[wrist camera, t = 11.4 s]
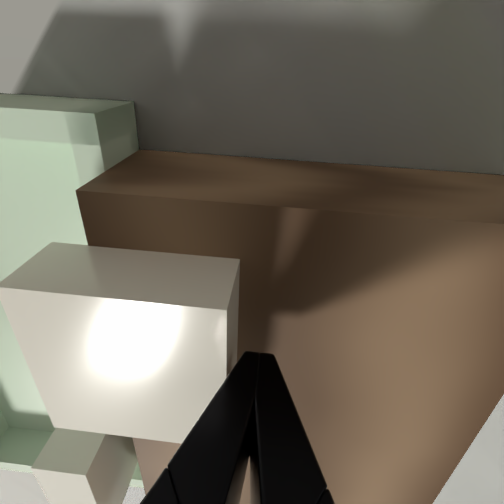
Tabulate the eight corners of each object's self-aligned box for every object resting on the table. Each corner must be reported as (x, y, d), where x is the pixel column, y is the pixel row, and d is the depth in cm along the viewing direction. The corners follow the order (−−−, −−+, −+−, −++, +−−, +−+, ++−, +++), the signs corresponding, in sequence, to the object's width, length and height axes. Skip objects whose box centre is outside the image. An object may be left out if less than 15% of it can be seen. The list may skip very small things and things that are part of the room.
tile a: (85, 475, 12) (30, 468, 12) (109, 537, 14) (64, 530, 14) (140, 362, 16) (99, 358, 16) (151, 425, 19) (115, 421, 19)
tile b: (239, 259, 9) (226, 310, 7) (236, 388, 11) (225, 449, 9) (51, 241, 9) (-6, 286, 7) (89, 371, 11) (54, 427, 10)
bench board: (507, 175, 11) (609, 232, 7) (384, 455, 19) (405, 544, 16) (139, 149, 12) (75, 190, 8) (173, 429, 20) (148, 509, 16)
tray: (133, 101, 11) (94, 113, 9) (175, 444, 20) (162, 490, 18) (-175, 82, 11) (-283, 89, 9) (7, 423, 21) (-25, 465, 19)
